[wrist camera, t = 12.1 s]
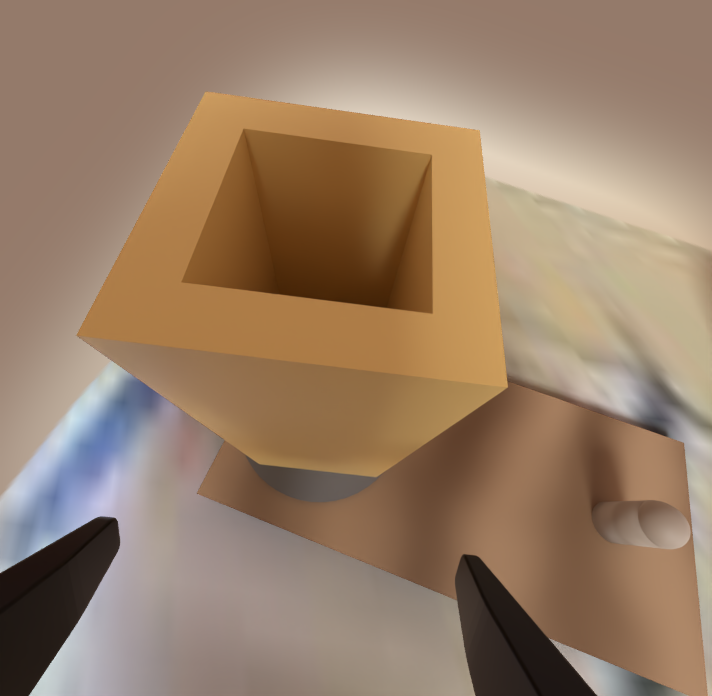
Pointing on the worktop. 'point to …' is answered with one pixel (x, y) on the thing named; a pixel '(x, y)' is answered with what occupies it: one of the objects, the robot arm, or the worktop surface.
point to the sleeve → (311, 284)
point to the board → (519, 524)
